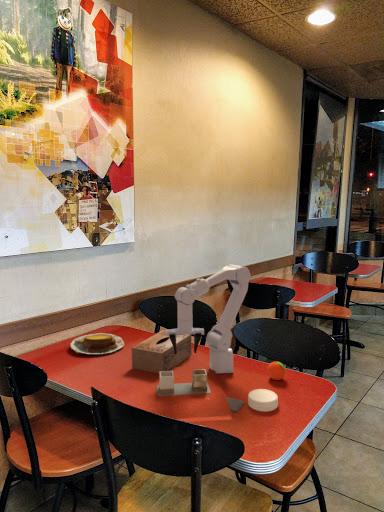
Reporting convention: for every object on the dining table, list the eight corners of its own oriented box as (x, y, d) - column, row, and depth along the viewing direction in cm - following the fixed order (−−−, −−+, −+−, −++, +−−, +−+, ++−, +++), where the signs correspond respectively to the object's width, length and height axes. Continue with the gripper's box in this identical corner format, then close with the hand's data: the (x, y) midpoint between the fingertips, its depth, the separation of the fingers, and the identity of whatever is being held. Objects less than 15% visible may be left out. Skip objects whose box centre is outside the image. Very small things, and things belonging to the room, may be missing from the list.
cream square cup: (173, 386, 149) (173, 370, 148) (174, 392, 144) (173, 376, 143) (159, 386, 149) (159, 371, 148) (160, 393, 144) (159, 377, 143)
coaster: (284, 406, 136) (284, 396, 135) (262, 415, 130) (262, 405, 130) (263, 395, 144) (263, 385, 144) (242, 403, 139) (242, 393, 138)
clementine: (291, 380, 156) (291, 362, 155) (280, 385, 151) (281, 367, 150) (274, 373, 161) (274, 356, 160) (263, 379, 157) (263, 361, 156)
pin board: (207, 384, 153) (207, 374, 152) (211, 395, 144) (210, 384, 143) (156, 387, 151) (156, 377, 150) (157, 398, 142) (157, 388, 141)
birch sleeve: (205, 384, 150) (205, 368, 150) (207, 390, 145) (207, 374, 145) (192, 385, 150) (192, 369, 149) (193, 391, 145) (193, 375, 144)
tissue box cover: (162, 377, 160) (162, 353, 158) (132, 371, 166) (131, 347, 165) (191, 355, 182) (191, 333, 181) (164, 350, 189) (163, 329, 188)
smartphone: (206, 392, 145) (245, 401, 138) (206, 394, 146) (245, 403, 138) (196, 401, 139) (236, 411, 132) (196, 404, 139) (236, 413, 132)
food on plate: (114, 335, 210) (113, 323, 209) (132, 350, 189) (132, 337, 188) (64, 344, 197) (63, 331, 196) (78, 362, 176) (77, 347, 175)
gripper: (166, 322, 150) (167, 357, 152) (205, 320, 152) (205, 355, 154) (165, 317, 157) (166, 350, 159) (202, 315, 159) (202, 349, 161)
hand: (185, 352), depth 157 cm, fingers open, 7 cm apart
